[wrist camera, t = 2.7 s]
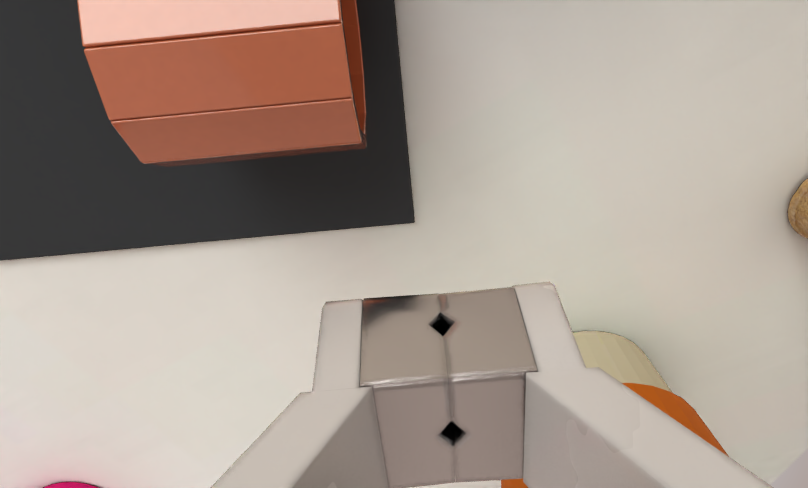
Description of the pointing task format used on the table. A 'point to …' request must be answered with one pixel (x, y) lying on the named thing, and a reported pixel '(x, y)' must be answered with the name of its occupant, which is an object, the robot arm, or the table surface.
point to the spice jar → (799, 210)
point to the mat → (180, 185)
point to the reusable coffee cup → (633, 382)
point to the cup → (228, 77)
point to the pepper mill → (70, 485)
